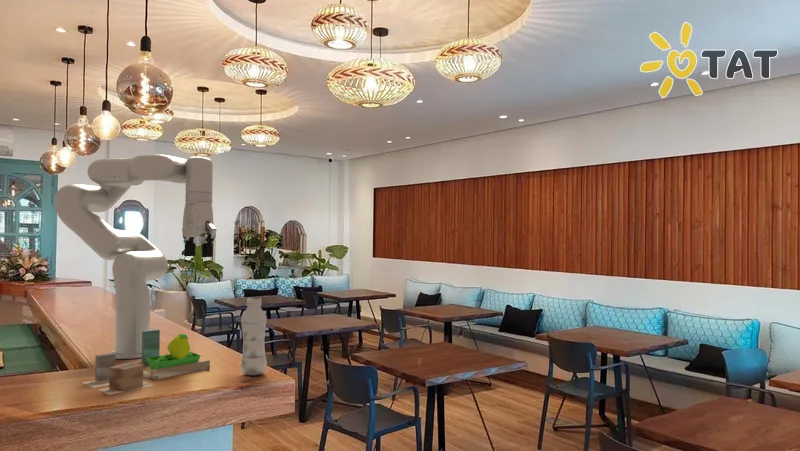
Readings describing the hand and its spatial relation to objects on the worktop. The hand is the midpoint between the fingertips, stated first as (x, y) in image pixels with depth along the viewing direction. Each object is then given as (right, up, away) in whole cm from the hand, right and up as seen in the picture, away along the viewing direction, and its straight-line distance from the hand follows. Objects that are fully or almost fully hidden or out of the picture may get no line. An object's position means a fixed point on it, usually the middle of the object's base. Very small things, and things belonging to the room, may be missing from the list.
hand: (198, 256), depth 162 cm
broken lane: (-7, -30, -32) cm, 45 cm away
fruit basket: (+1, -30, -20) cm, 36 cm away
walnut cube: (-4, -28, -35) cm, 45 cm away
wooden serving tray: (-3, -30, -17) cm, 34 cm away
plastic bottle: (+21, -30, -19) cm, 41 cm away
